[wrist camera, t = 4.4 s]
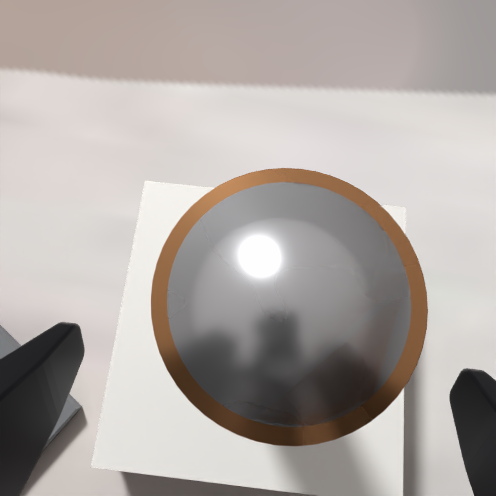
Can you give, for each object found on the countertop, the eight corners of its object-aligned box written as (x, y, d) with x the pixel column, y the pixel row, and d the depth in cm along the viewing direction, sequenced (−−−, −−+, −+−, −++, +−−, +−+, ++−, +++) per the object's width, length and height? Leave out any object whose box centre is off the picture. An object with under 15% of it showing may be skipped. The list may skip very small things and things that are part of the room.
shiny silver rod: (297, 297, 19) (427, 181, 5) (291, 369, 18) (428, 464, 4) (228, 290, 19) (174, 156, 5) (220, 361, 18) (127, 427, 4)
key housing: (386, 224, 19) (406, 207, 17) (380, 482, 17) (402, 506, 14) (157, 200, 20) (144, 180, 17) (113, 449, 17) (90, 467, 15)
